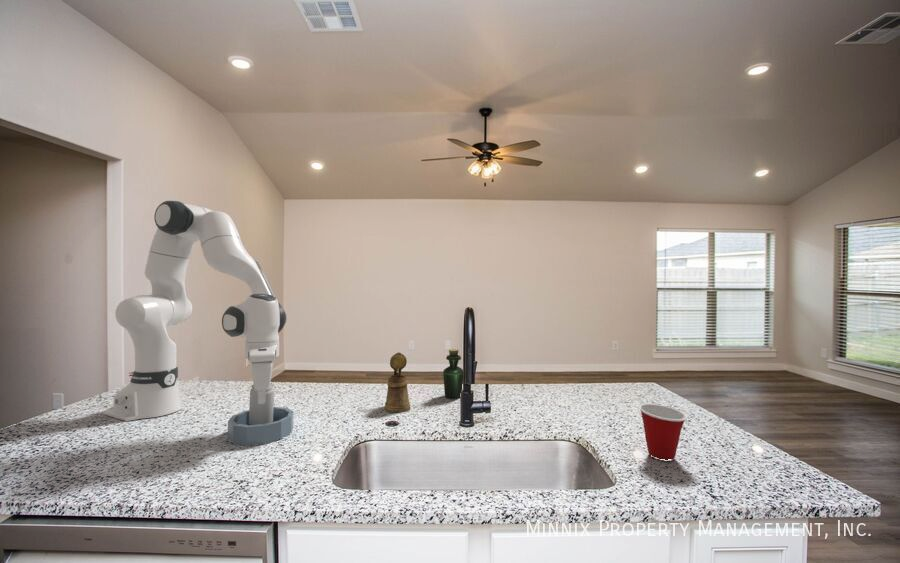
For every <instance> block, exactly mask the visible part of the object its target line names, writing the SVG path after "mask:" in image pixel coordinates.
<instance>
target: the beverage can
mask: <svg viewBox="0 0 900 563" xmlns="http://www.w3.org/2000/svg"><path fill="white" fill-rule="evenodd" d="M274 405H275V387H274V384H273V383H272V382H270V387H269V389H268V390H266V396H265V403H264V404H258V391H255V390H254V385H253V384H251V388H250V391H249V409H248V410H249V425H259V424H267V423H271V422H273V410H274V407H275V406H274Z"/></svg>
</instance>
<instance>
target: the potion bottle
mask: <svg viewBox="0 0 900 563" xmlns="http://www.w3.org/2000/svg"><path fill="white" fill-rule="evenodd" d="M459 351H460V350H459V349H457V348H450V349H448V353H449V355H446V358H445V359H446V360H448V363H449V364H448V365H449V366H447V367H446V368H444V369H443V371H442V376H443V388H444V398H447V399H449V398H450V399H451V400H456V399H455V398H458V399H460V393H461V390H462V391H463V389H462V384H463V385H464V378H463V371H464V369H462V367H460V366H458V365H459V362H460V360H462V356H461V355H459Z"/></svg>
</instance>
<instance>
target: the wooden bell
mask: <svg viewBox="0 0 900 563" xmlns="http://www.w3.org/2000/svg"><path fill="white" fill-rule="evenodd" d="M407 362H408V361H407V357H406V356H405V355H404V354H402V353H401V352H397V353H395V354H393V355H392V356H391V357H390V361H389V366H390V368H391V369H393V375H389V376H388V379H387V384H386V385H387V390H386V391H387V394H386V399H385V402H384V410H385V411H387V412H390V413H403V412H408V411H410V410H411V402H410V399H409V393H408V392H409V390H408V379H407V375H403V374H402V370H403V369H404V368H406V366H407Z"/></svg>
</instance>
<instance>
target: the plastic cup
mask: <svg viewBox="0 0 900 563" xmlns="http://www.w3.org/2000/svg"><path fill="white" fill-rule="evenodd" d="M638 407H639V411H640V413H641V418H642V423H643V430H644V436H645V441H646V448H647V452H648V455H649V454H650V455H652V456H654V457H657V458H659V459H665V460H668V459H674V460H675V458H676V454H677V449H678V446H679V442H680V437H681V432H682V428H683V425H684V423H685V421H686V420H687V419H688V416H687V414H686V413H684V412H682V411H681V410H678V409H675V408H672V407H669V406H666V405H660V404H654V403H645V404H640V405H639V406H638Z"/></svg>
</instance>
